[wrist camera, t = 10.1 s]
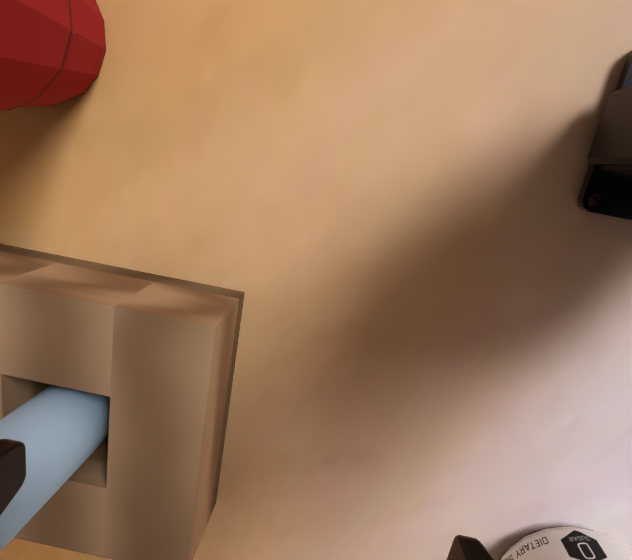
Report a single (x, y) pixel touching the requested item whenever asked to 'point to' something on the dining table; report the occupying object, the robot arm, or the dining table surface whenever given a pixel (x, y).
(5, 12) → the plastic cup
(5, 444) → the robot arm
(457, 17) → the dining table surface
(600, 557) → the supplement can
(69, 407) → the pin
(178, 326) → the bore block
